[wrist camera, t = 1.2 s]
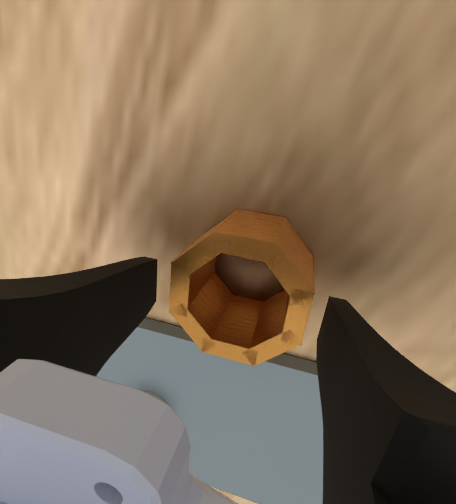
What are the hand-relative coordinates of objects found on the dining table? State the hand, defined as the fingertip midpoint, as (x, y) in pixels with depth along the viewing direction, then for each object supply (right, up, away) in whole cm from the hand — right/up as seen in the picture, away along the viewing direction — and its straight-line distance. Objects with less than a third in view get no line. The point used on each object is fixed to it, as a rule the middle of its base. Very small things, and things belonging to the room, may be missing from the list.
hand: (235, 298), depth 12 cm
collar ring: (+1, +1, +3) cm, 4 cm away
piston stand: (-2, -9, +8) cm, 12 cm away
